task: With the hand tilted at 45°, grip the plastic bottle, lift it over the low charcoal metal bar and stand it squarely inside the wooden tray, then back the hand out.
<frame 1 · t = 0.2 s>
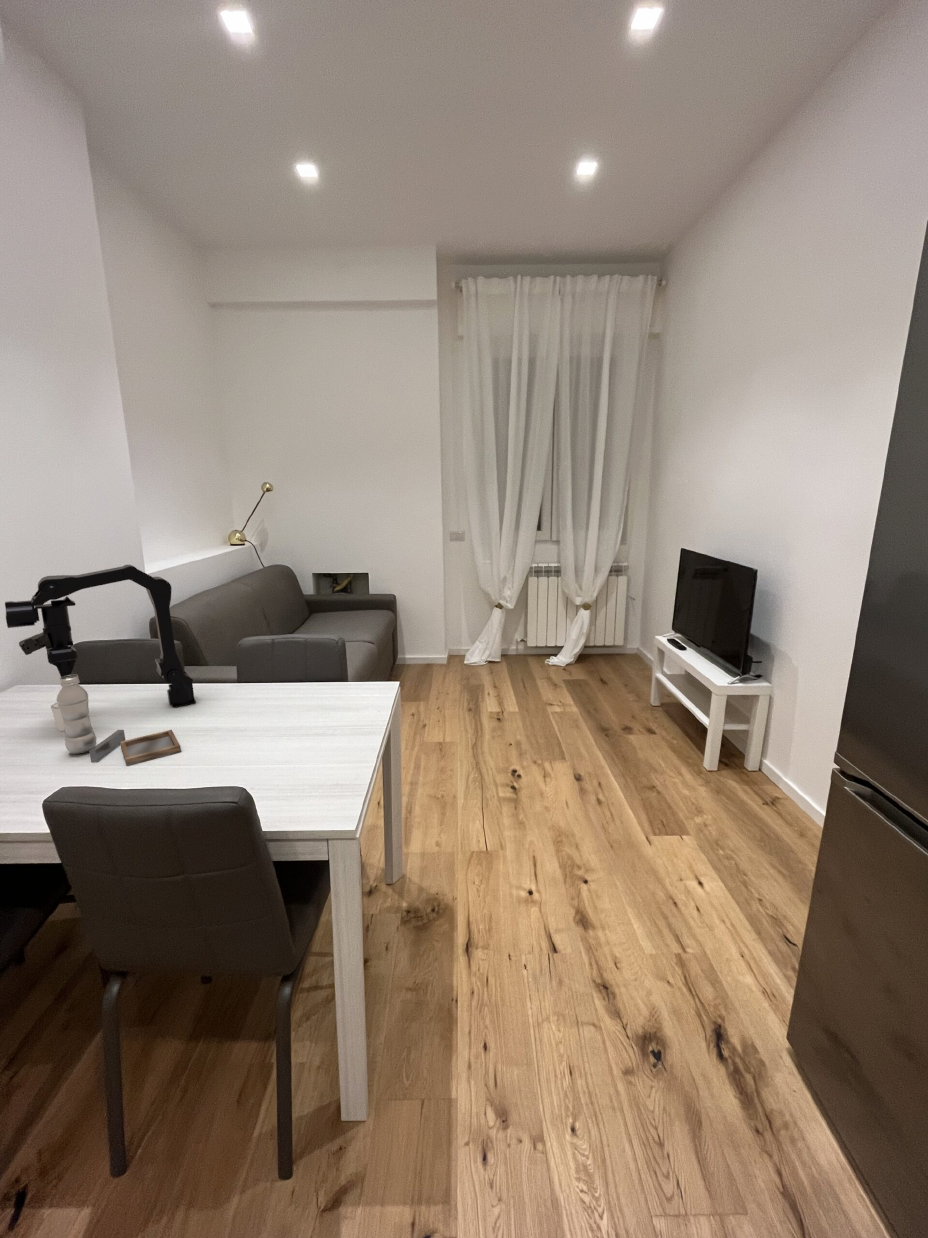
hand: (64, 678, 151), 14 cm above the table, tool pointing down, fingers open, 9 cm apart
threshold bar: (109, 750, 140), on the table
plastic bottle: (82, 751, 140), on the table
white tapered cup: (70, 727, 154), on the table
wooden tray: (150, 749, 140), on the table
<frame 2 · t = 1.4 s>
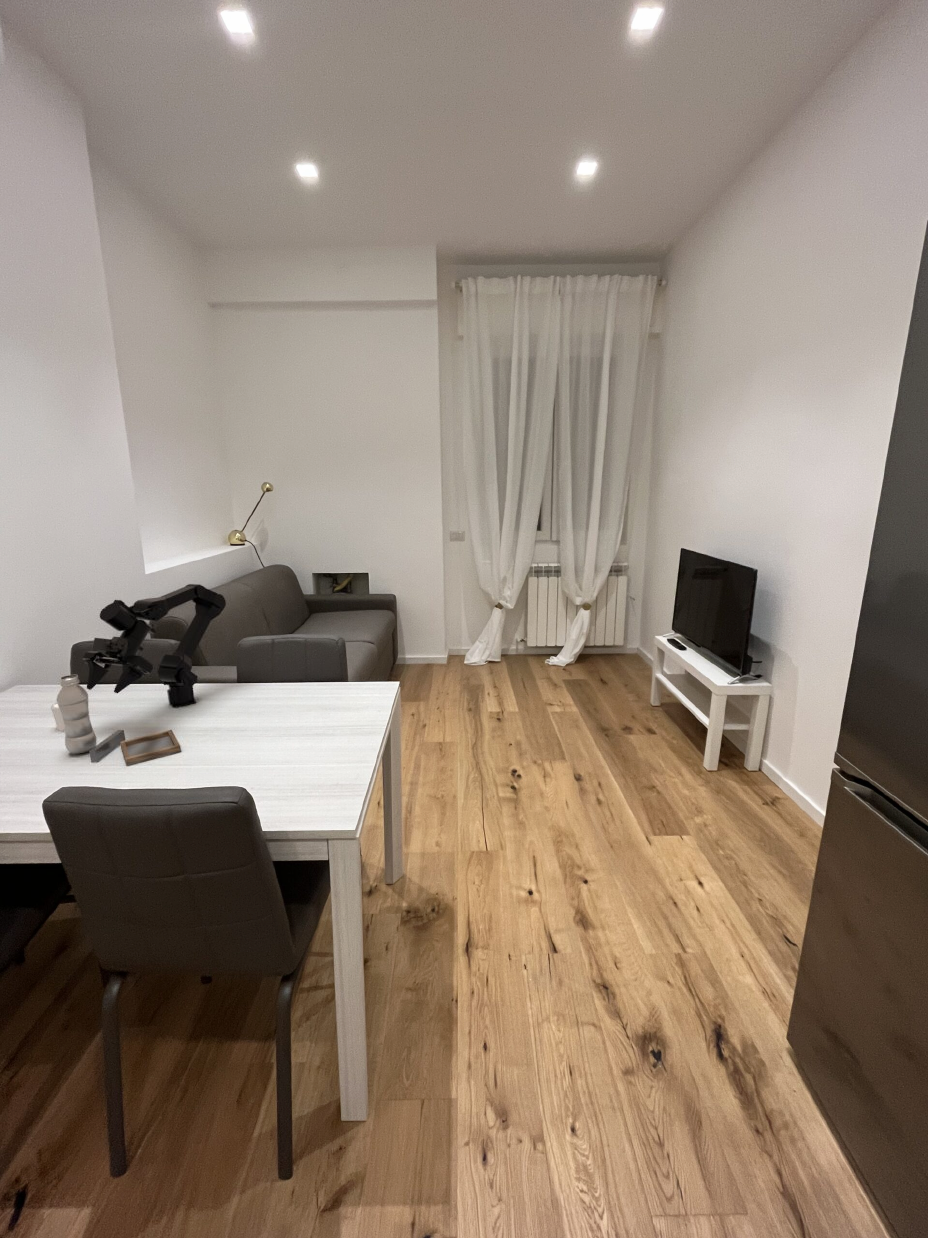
hand: (101, 690, 144), 13 cm above the table, tool tilted 45°, fingers open, 9 cm apart
nothing on the table moved.
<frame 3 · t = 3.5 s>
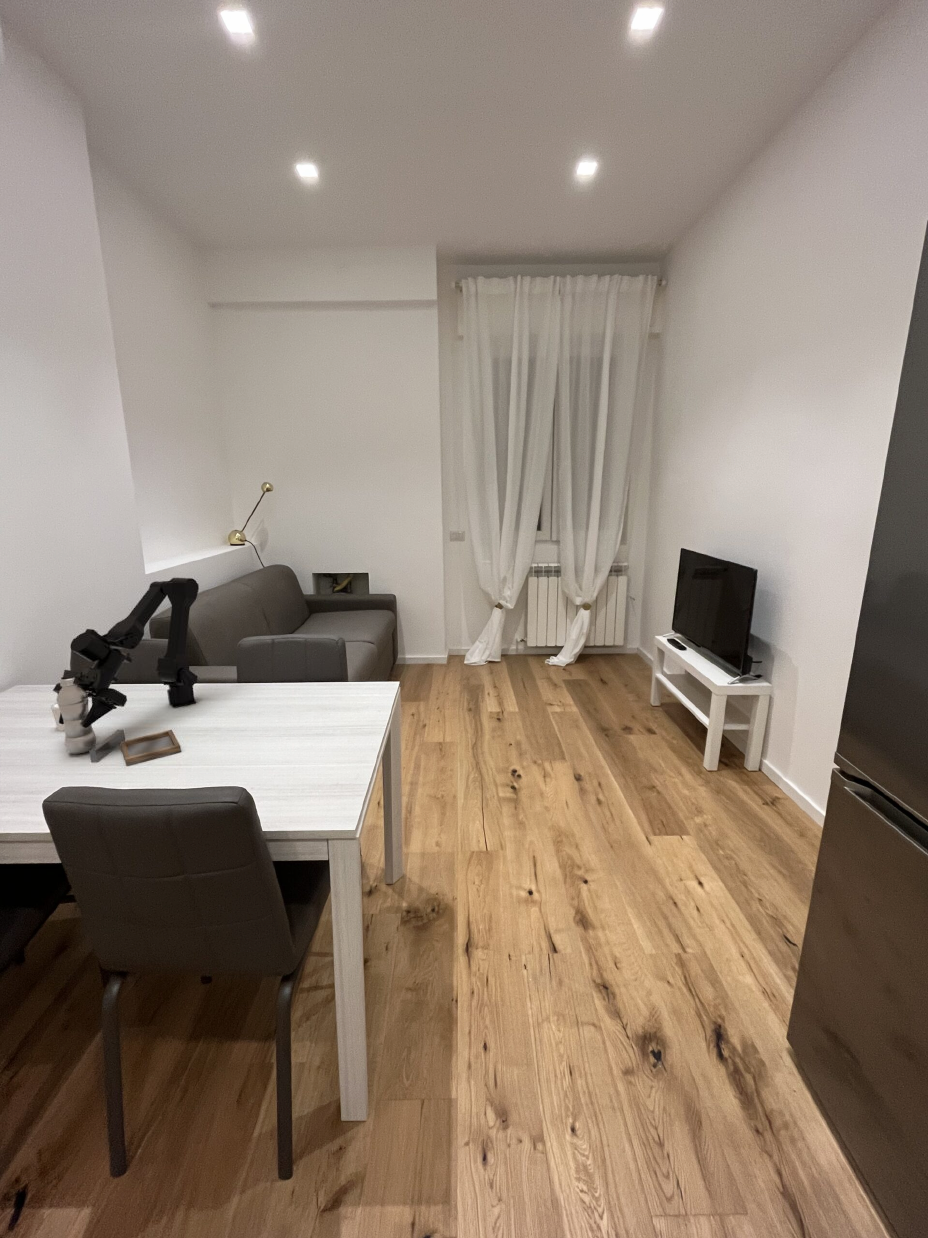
hand: (72, 725, 137), 8 cm above the table, tool tilted 45°, fingers open, 7 cm apart
plastic bottle: (82, 751, 140), on the table, touching gripper
everything else where it was.
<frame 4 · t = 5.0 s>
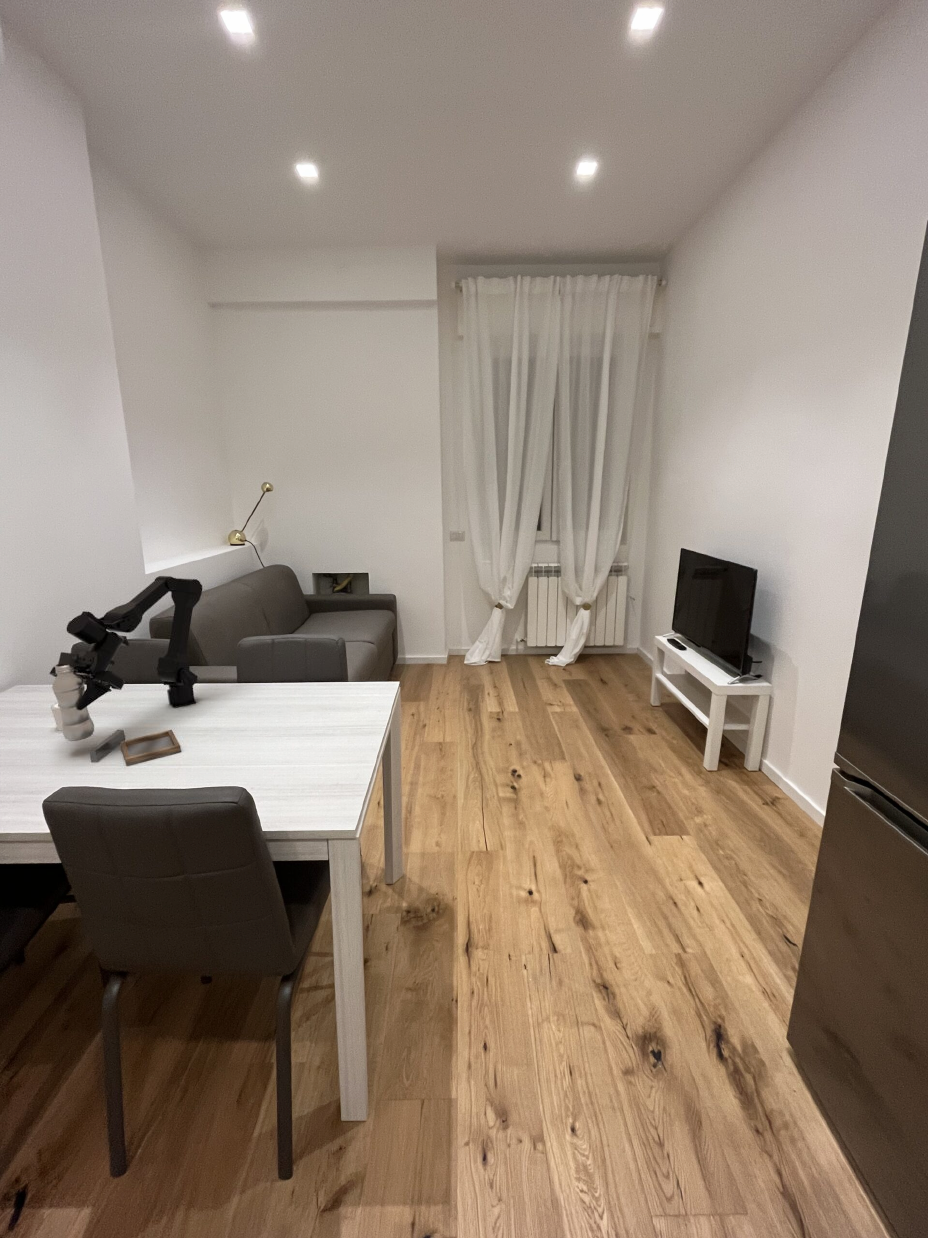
hand: (69, 708, 136), 12 cm above the table, tool tilted 45°, fingers closed on plastic bottle, 6 cm apart
plastic bottle: (80, 739, 139), point 3 cm above the table, touching gripper
everything else where it was.
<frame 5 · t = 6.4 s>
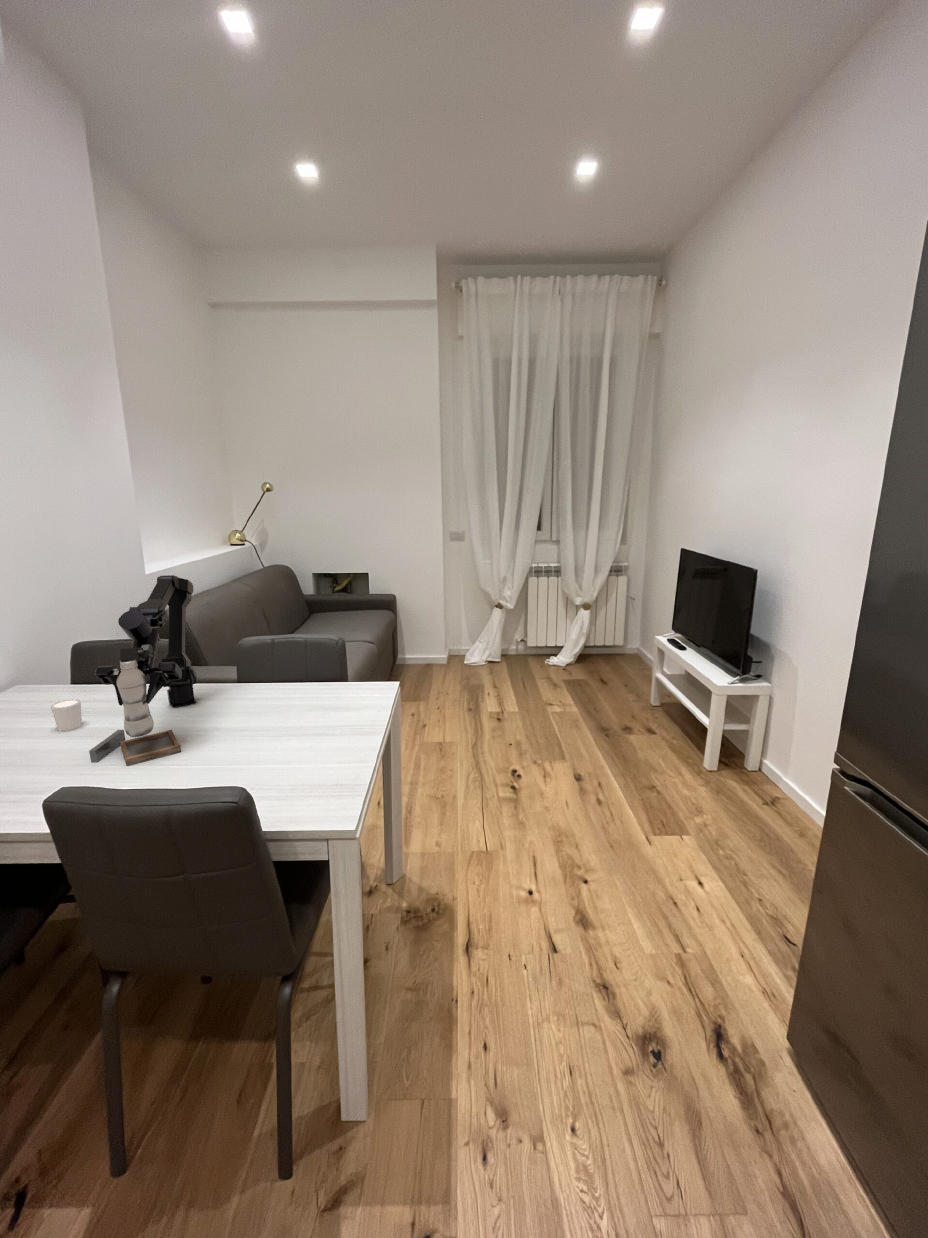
hand: (133, 704, 135), 13 cm above the table, tool tilted 45°, fingers closed on plastic bottle, 6 cm apart
plastic bottle: (140, 735, 139), point 4 cm above the table, touching gripper
everything else where it was.
when the fingers open (10 cm above the table, at t = 7.9 s): plastic bottle stays where it is, resting on wooden tray.
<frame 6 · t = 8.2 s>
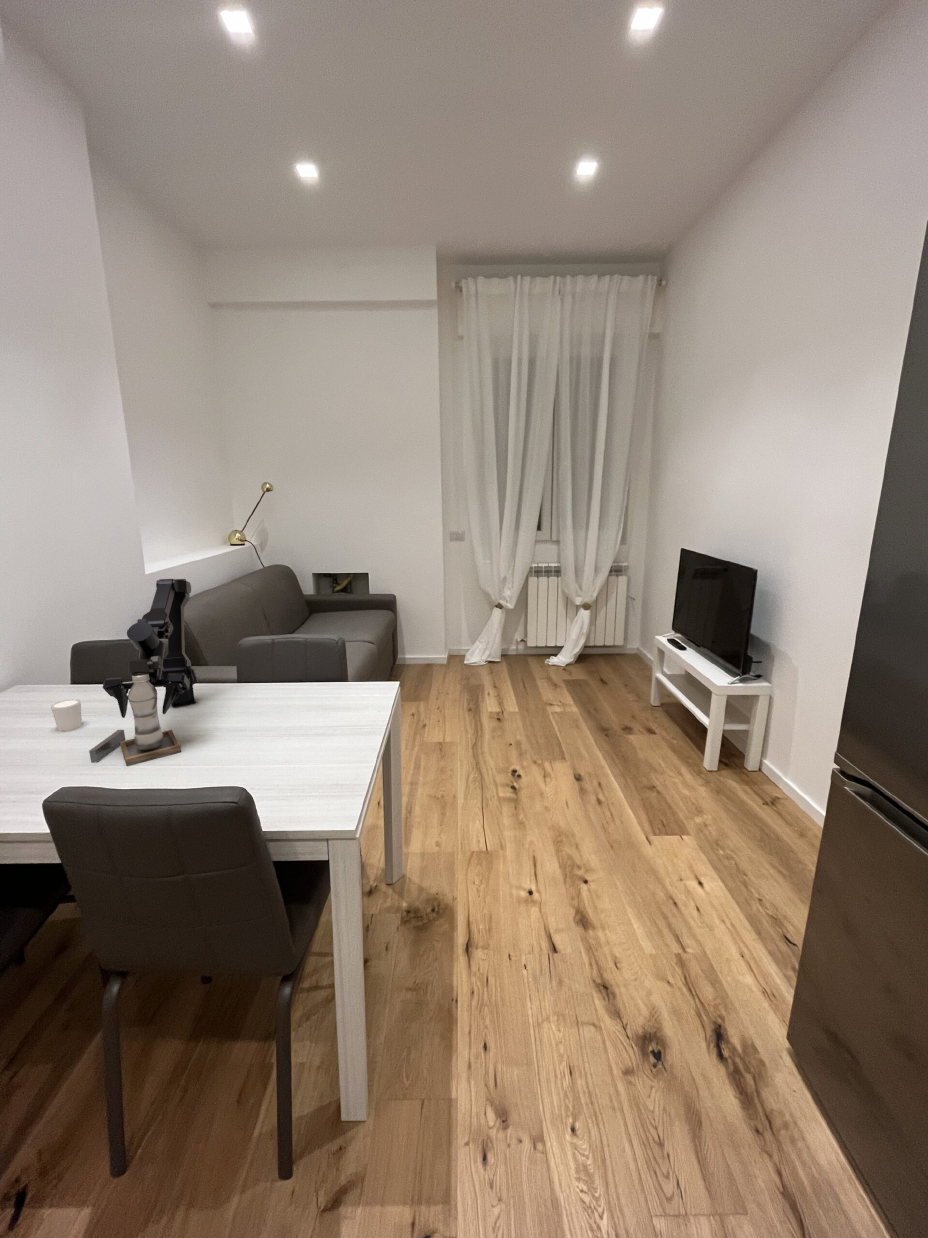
hand: (143, 715, 136), 10 cm above the table, tool tilted 45°, fingers open, 9 cm apart
plastic bottle: (150, 748, 140), resting on wooden tray
everything else where it was.
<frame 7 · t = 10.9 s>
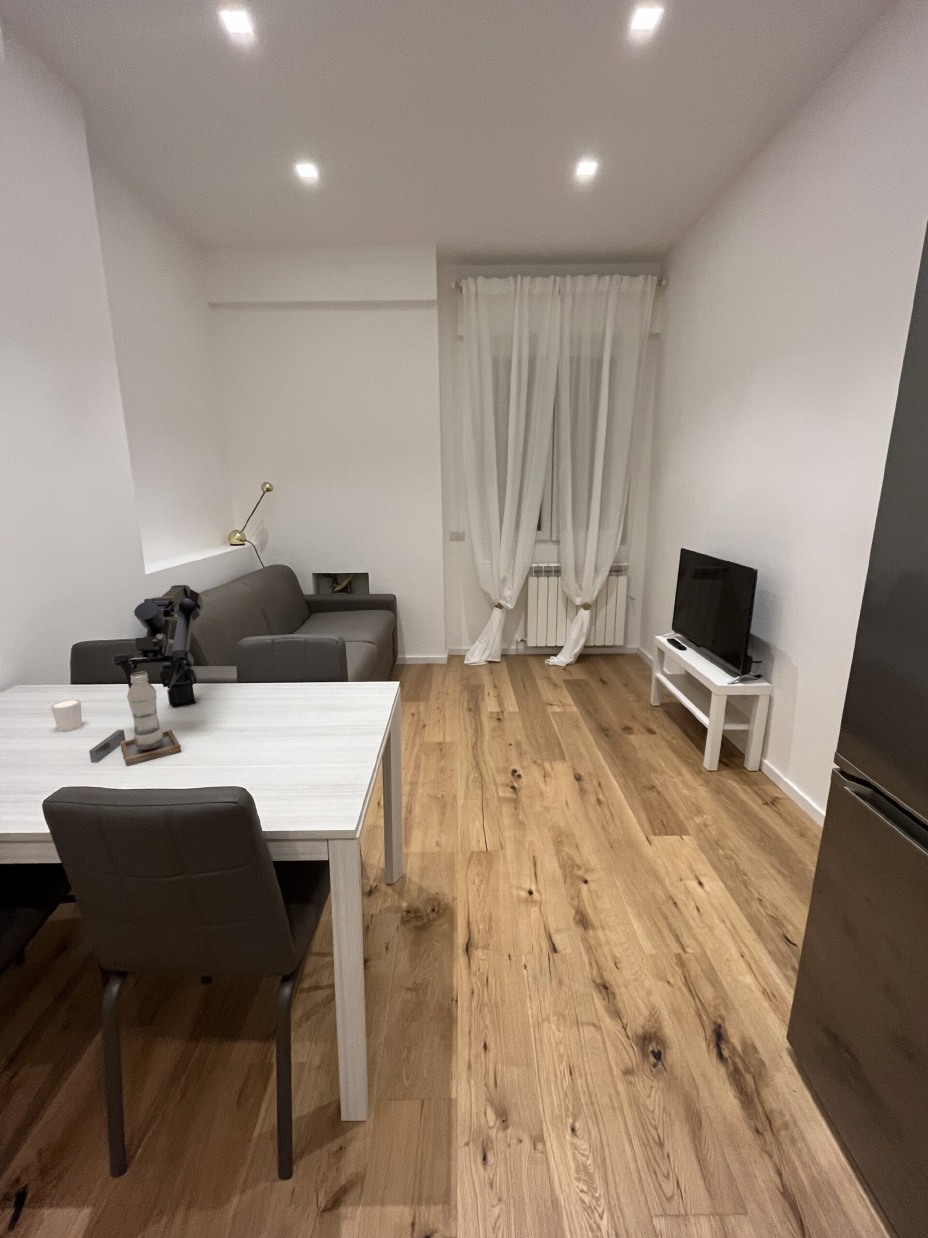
hand: (149, 689, 145), 13 cm above the table, tool tilted 45°, fingers open, 9 cm apart
nothing on the table moved.
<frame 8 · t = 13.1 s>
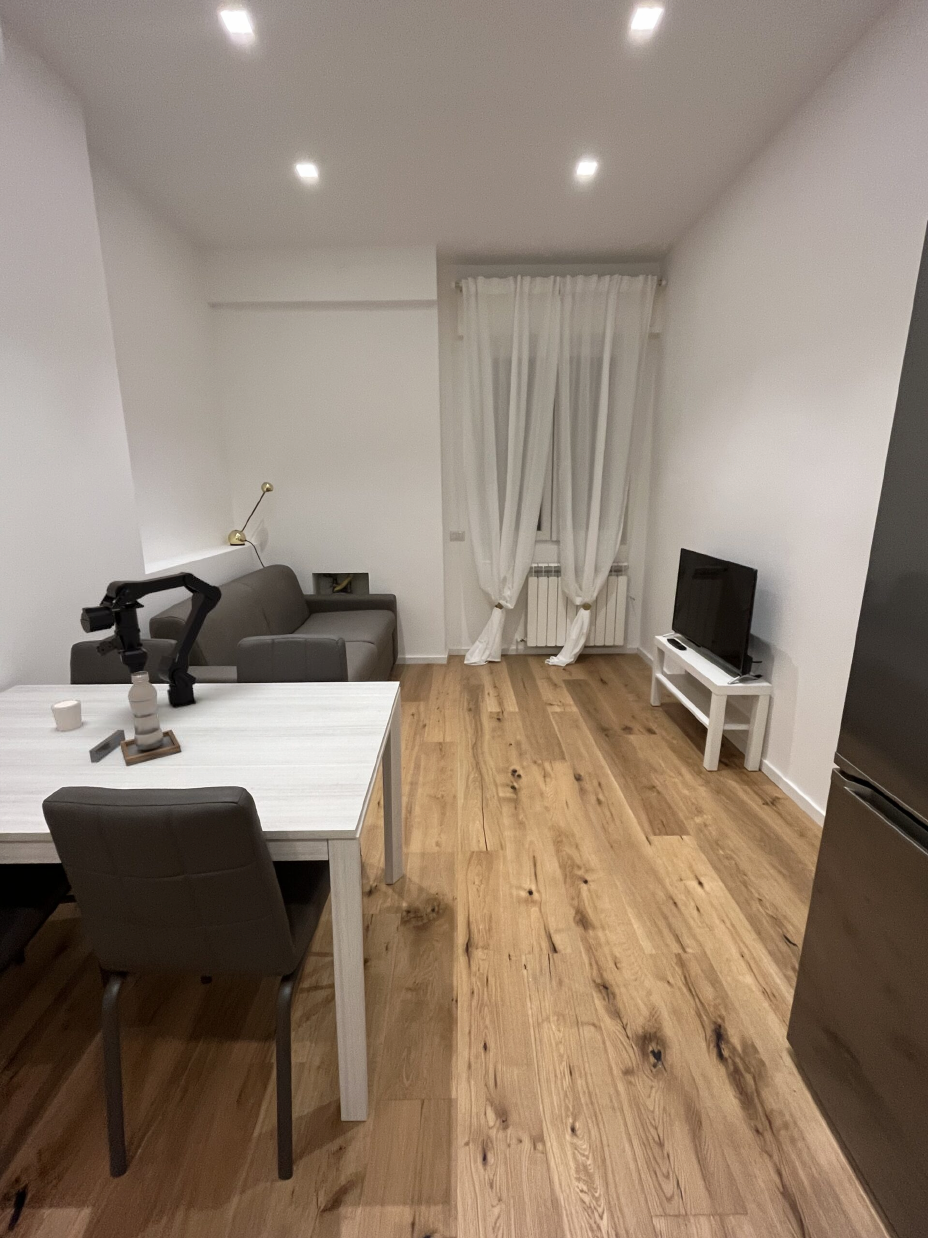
hand: (134, 677, 158), 12 cm above the table, tool pointing down, fingers open, 9 cm apart
nothing on the table moved.
at the end: plastic bottle 0.1 cm off-centre on the wooden tray, point 0.3 cm above the wooden tray's base; plastic bottle tilted 0°; the gripper is holding nothing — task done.
